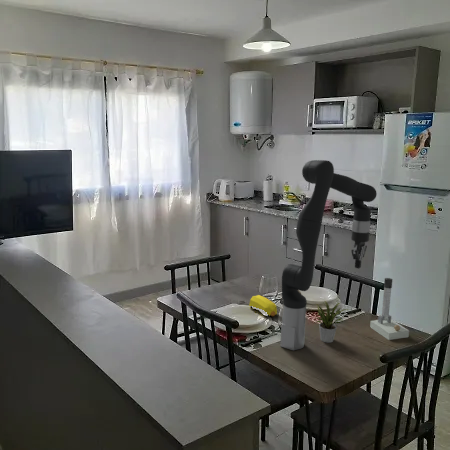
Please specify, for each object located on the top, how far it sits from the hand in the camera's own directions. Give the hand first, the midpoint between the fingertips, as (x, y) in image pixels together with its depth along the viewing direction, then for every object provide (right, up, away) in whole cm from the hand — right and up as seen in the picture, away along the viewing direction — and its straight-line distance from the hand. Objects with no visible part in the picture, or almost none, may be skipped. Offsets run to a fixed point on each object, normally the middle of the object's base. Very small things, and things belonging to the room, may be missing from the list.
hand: (357, 267), depth 205 cm
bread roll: (-26, -20, +28) cm, 43 cm away
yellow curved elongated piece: (-42, -22, +13) cm, 49 cm away
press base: (+11, -27, -7) cm, 30 cm away
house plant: (-16, -29, -15) cm, 36 cm away
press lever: (+10, -23, -5) cm, 25 cm away
